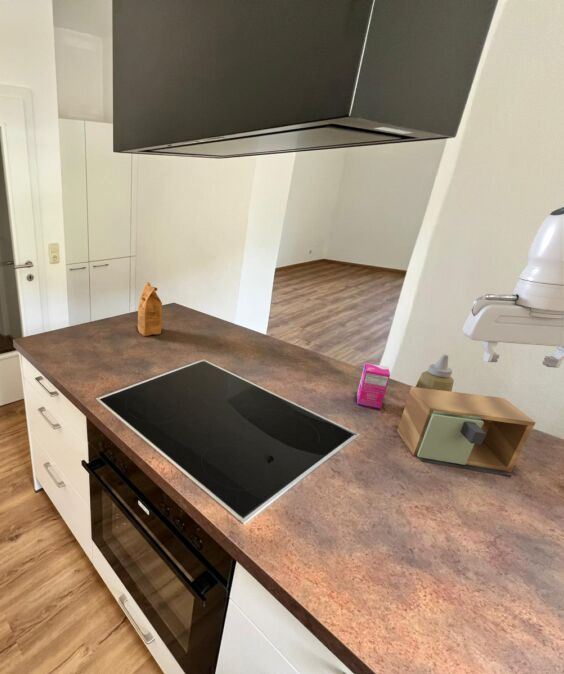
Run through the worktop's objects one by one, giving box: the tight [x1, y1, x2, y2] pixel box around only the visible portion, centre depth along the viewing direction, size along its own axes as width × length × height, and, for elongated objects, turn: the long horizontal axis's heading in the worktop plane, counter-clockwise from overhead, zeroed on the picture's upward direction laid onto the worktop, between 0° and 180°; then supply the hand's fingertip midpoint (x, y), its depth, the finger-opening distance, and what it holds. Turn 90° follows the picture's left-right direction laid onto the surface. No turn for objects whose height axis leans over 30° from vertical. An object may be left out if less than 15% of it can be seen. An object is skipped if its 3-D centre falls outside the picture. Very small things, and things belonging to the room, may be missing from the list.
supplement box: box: [356, 362, 391, 411], centre depth 103 cm, size 6×6×12 cm
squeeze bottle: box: [414, 353, 455, 392], centre depth 96 cm, size 8×8×18 cm
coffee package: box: [137, 281, 163, 337], centre depth 159 cm, size 10×12×22 cm
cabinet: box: [396, 386, 537, 478], centre depth 83 cm, size 18×12×13 cm, turn 72°
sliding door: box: [416, 414, 486, 465], centre depth 77 cm, size 9×5×11 cm, turn 72°
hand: (519, 363), depth 72 cm, fingers open, 8 cm apart
